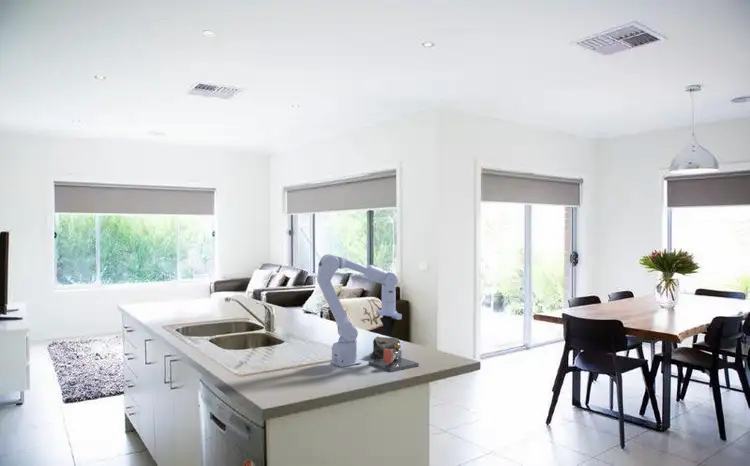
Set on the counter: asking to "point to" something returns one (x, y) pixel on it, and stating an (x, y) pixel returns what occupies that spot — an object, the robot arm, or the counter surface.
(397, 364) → the base
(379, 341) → the stone
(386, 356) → the lever
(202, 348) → the counter surface
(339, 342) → the robot arm
